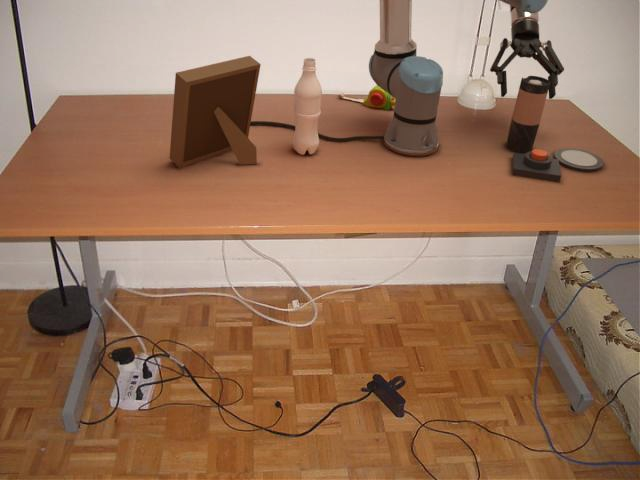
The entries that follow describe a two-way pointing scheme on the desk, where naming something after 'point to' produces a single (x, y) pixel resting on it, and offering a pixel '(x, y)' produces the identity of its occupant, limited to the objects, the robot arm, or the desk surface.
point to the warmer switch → (535, 167)
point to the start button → (539, 155)
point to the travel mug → (527, 113)
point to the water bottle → (307, 109)
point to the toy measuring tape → (375, 99)
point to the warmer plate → (578, 160)
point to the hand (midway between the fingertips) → (528, 96)
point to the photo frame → (214, 111)
